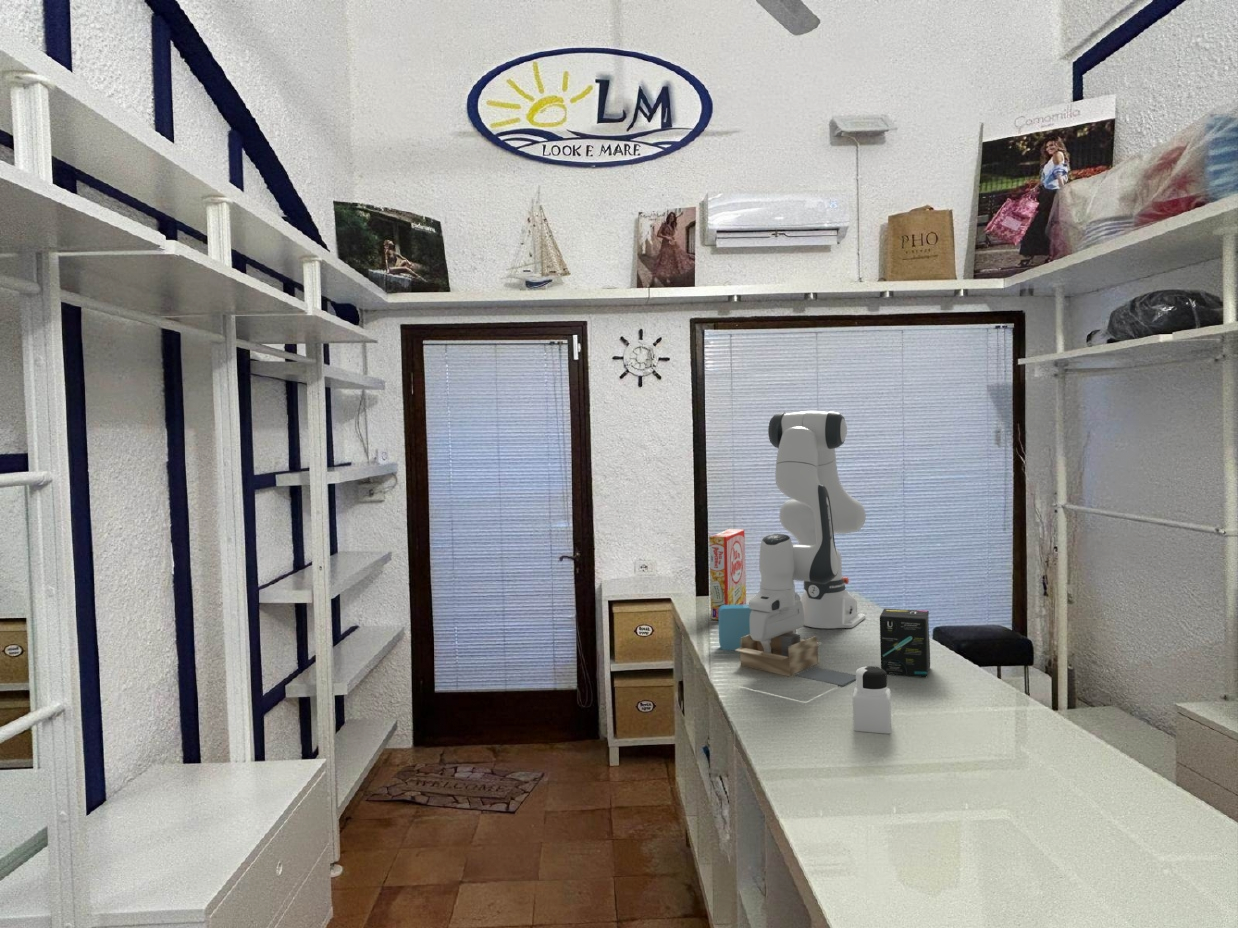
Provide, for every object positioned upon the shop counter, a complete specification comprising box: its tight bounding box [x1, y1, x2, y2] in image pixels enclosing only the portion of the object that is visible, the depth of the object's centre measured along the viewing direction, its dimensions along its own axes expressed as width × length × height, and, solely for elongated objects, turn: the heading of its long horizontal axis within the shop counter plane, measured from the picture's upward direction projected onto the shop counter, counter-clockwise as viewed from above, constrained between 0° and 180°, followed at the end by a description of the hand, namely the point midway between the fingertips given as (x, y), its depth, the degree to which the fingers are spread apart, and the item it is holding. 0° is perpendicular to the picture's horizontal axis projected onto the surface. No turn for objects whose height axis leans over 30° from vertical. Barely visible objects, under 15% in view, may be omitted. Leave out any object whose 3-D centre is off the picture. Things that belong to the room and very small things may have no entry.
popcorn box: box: [708, 528, 747, 621], centre depth 268 cm, size 20×6×27 cm, turn 155°
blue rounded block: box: [718, 603, 752, 651], centre depth 226 cm, size 12×4×12 cm, turn 87°
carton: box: [734, 635, 822, 677], centre depth 209 cm, size 19×15×8 cm
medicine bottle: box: [852, 665, 892, 735], centre depth 166 cm, size 7×7×12 cm
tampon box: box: [879, 608, 931, 679], centre depth 201 cm, size 11×9×15 cm
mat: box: [794, 665, 856, 688], centre depth 199 cm, size 9×13×1 cm
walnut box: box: [758, 633, 801, 657], centre depth 209 cm, size 4×10×8 cm, turn 46°
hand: (779, 651), depth 209 cm, fingers open, 8 cm apart
